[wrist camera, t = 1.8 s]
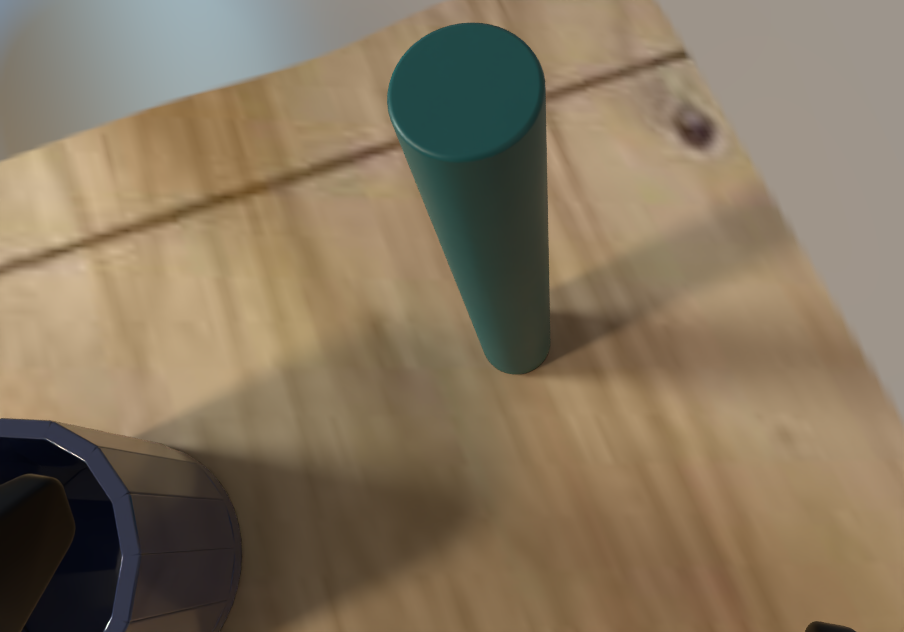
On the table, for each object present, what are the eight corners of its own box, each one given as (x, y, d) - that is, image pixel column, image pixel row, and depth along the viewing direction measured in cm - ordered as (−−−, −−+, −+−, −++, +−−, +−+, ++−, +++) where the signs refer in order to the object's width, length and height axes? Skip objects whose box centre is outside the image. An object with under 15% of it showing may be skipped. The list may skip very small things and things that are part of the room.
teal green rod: (549, 376, 21) (543, 159, 9) (480, 373, 21) (378, 161, 9) (551, 310, 21) (547, 17, 9) (484, 308, 22) (392, 22, 9)
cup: (223, 706, 20) (103, 772, 14) (-4, 681, 21) (-193, 734, 15) (257, 450, 21) (162, 425, 16) (48, 439, 22) (-105, 412, 17)
